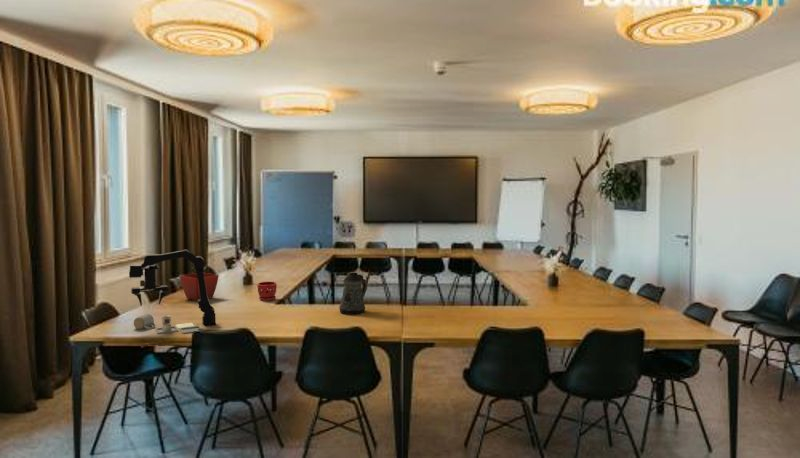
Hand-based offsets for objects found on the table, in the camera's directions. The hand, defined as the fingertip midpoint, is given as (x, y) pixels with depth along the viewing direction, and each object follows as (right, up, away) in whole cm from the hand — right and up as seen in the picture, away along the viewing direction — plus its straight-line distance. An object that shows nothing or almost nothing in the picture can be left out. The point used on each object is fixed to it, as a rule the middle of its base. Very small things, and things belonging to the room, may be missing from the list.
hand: (150, 304), depth 301 cm
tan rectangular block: (+11, -13, -4) cm, 18 cm away
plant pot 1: (-4, -8, +84) cm, 85 cm away
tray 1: (+11, -14, -4) cm, 18 cm away
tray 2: (+24, -14, -4) cm, 28 cm away
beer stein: (+109, -11, +45) cm, 119 cm away
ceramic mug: (-3, -14, +2) cm, 14 cm away
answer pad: (+17, -13, +7) cm, 22 cm away
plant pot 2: (+45, -8, +81) cm, 93 cm away
